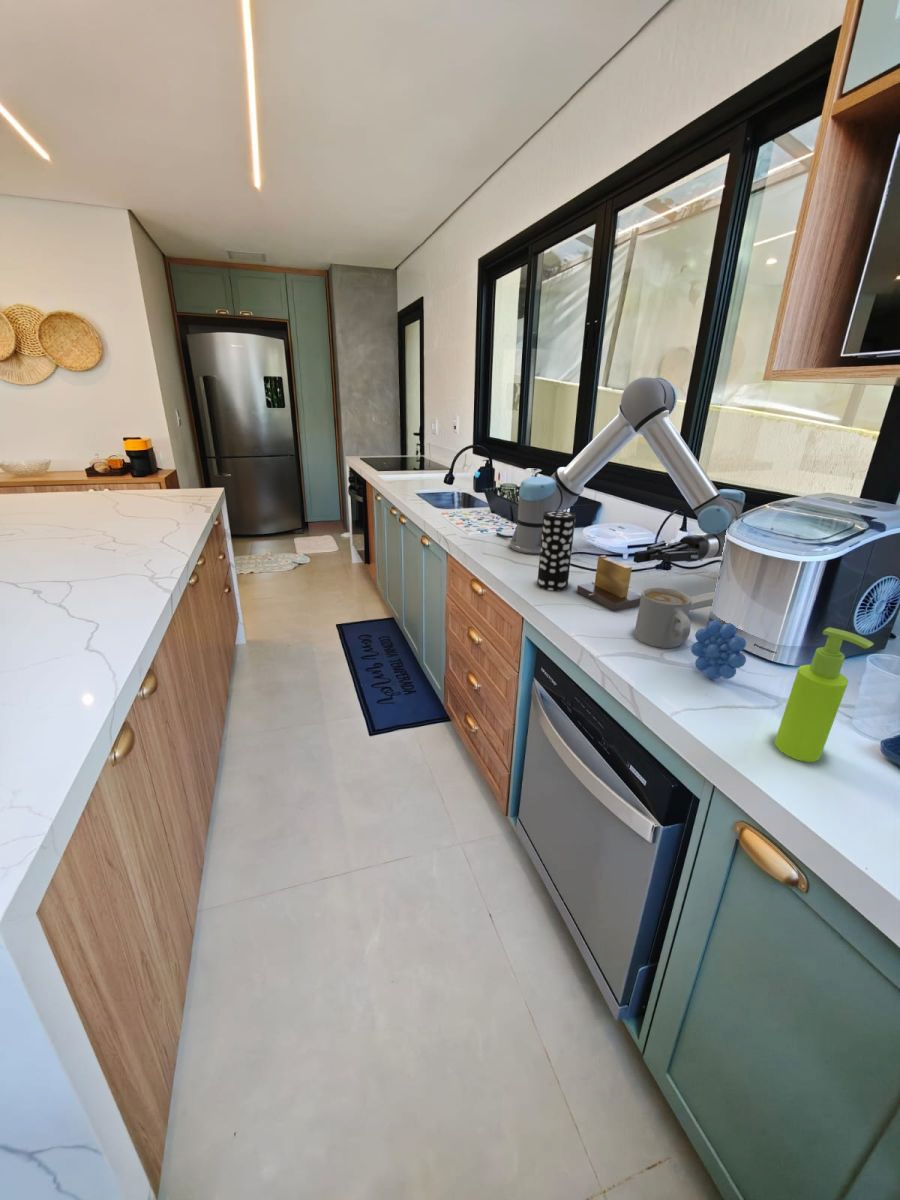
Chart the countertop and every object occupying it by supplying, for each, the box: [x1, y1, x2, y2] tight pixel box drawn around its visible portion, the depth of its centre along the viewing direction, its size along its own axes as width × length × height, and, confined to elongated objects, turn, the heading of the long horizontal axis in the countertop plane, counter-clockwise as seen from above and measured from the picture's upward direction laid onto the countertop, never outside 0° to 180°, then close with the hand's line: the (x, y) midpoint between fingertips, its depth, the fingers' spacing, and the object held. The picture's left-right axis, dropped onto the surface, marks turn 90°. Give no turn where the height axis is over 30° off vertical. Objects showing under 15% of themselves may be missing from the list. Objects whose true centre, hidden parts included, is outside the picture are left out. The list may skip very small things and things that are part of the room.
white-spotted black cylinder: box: [536, 510, 577, 592], centre depth 136 cm, size 8×8×20 cm
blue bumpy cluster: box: [690, 619, 747, 680], centre depth 93 cm, size 12×7×12 cm, turn 17°
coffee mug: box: [633, 586, 692, 649], centre depth 108 cm, size 13×10×10 cm
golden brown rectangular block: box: [594, 554, 633, 598], centre depth 130 cm, size 10×2×8 cm, turn 26°
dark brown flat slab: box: [576, 581, 641, 612], centre depth 132 cm, size 14×14×2 cm
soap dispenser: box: [774, 626, 875, 763], centre depth 72 cm, size 6×7×20 cm
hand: (636, 557), depth 135 cm, fingers closed
